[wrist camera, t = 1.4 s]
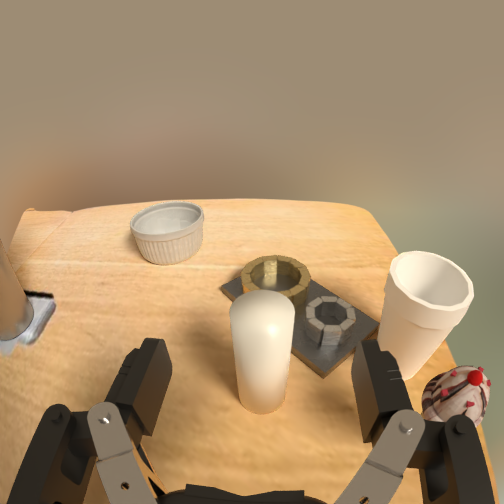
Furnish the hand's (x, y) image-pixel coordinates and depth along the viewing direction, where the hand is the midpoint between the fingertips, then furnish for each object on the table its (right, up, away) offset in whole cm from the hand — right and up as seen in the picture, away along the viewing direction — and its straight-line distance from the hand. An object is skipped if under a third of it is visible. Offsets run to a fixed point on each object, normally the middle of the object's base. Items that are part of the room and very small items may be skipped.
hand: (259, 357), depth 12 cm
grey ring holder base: (+6, -4, +29) cm, 30 cm away
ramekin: (-15, +5, +43) cm, 46 cm away
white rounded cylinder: (+1, -11, +18) cm, 21 cm away
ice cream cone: (+15, -16, +10) cm, 24 cm away
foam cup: (+18, -9, +21) cm, 29 cm away
